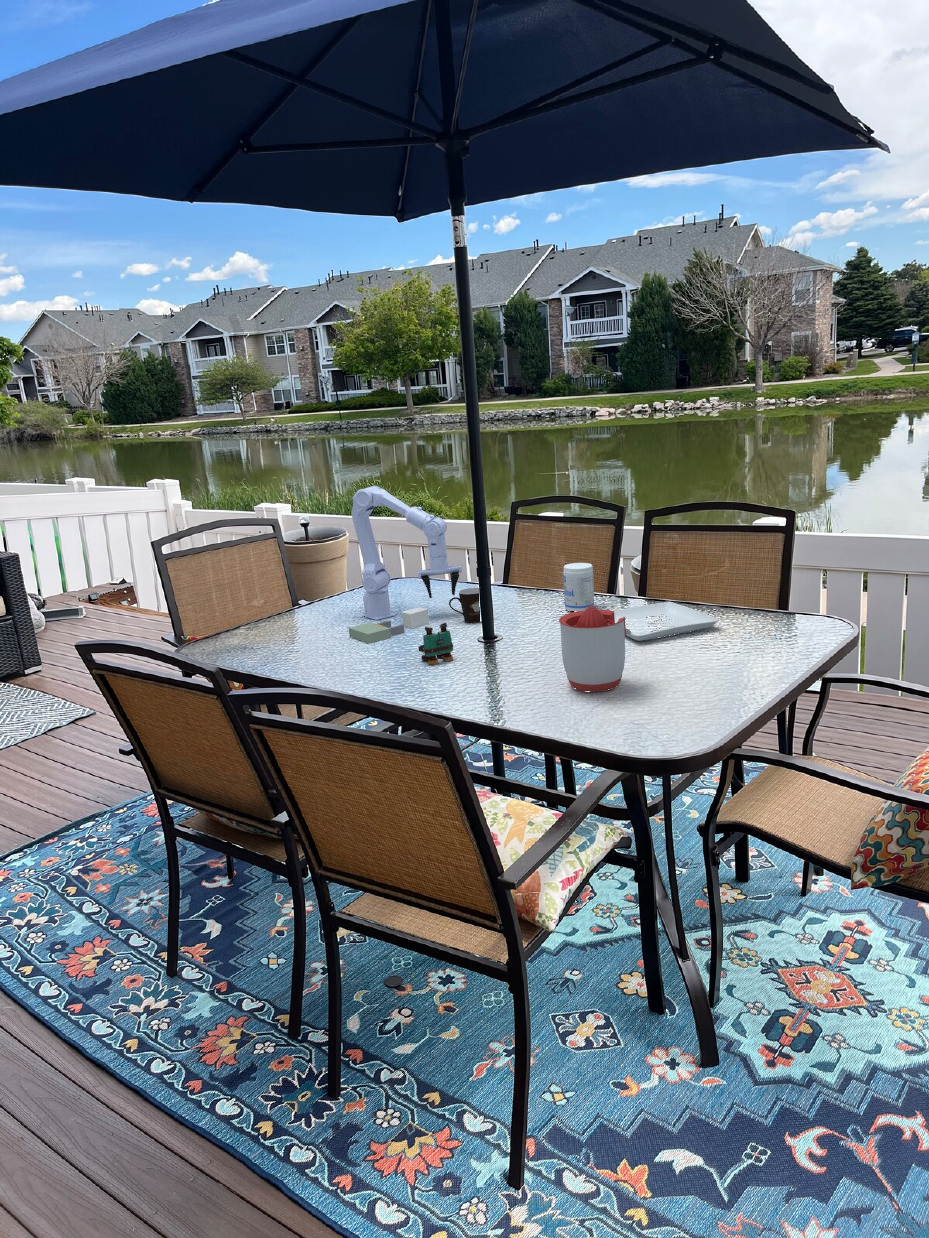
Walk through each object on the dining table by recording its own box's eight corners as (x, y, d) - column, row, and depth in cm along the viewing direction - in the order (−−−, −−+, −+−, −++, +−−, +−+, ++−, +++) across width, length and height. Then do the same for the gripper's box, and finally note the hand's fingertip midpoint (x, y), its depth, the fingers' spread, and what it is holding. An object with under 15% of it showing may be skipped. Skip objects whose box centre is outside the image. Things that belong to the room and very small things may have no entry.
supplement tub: (559, 610, 274) (556, 566, 270) (579, 604, 279) (577, 561, 275) (579, 614, 266) (577, 569, 262) (600, 608, 272) (598, 564, 268)
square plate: (669, 611, 262) (669, 599, 261) (721, 631, 237) (721, 618, 236) (591, 625, 254) (591, 613, 253) (637, 647, 229) (636, 634, 228)
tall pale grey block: (402, 626, 271) (401, 611, 270) (420, 621, 275) (418, 607, 274) (411, 629, 267) (410, 614, 266) (429, 624, 271) (427, 609, 270)
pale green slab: (349, 636, 264) (348, 627, 263) (387, 627, 272) (386, 617, 271) (368, 643, 254) (367, 633, 253) (407, 633, 262) (406, 623, 261)
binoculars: (438, 619, 237) (453, 622, 228) (443, 655, 239) (458, 660, 230) (409, 625, 233) (424, 629, 225) (415, 661, 235) (429, 666, 226)
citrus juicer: (646, 688, 197) (643, 606, 192) (578, 700, 193) (574, 617, 188) (616, 669, 212) (613, 593, 207) (552, 681, 207) (548, 603, 202)
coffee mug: (488, 616, 274) (486, 587, 271) (486, 623, 265) (484, 593, 263) (453, 618, 275) (450, 589, 272) (450, 625, 267) (447, 595, 264)
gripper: (458, 551, 277) (461, 590, 280) (414, 556, 275) (419, 596, 278) (461, 554, 270) (465, 595, 273) (416, 559, 268) (421, 600, 272)
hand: (441, 596), depth 275 cm, fingers open, 7 cm apart
